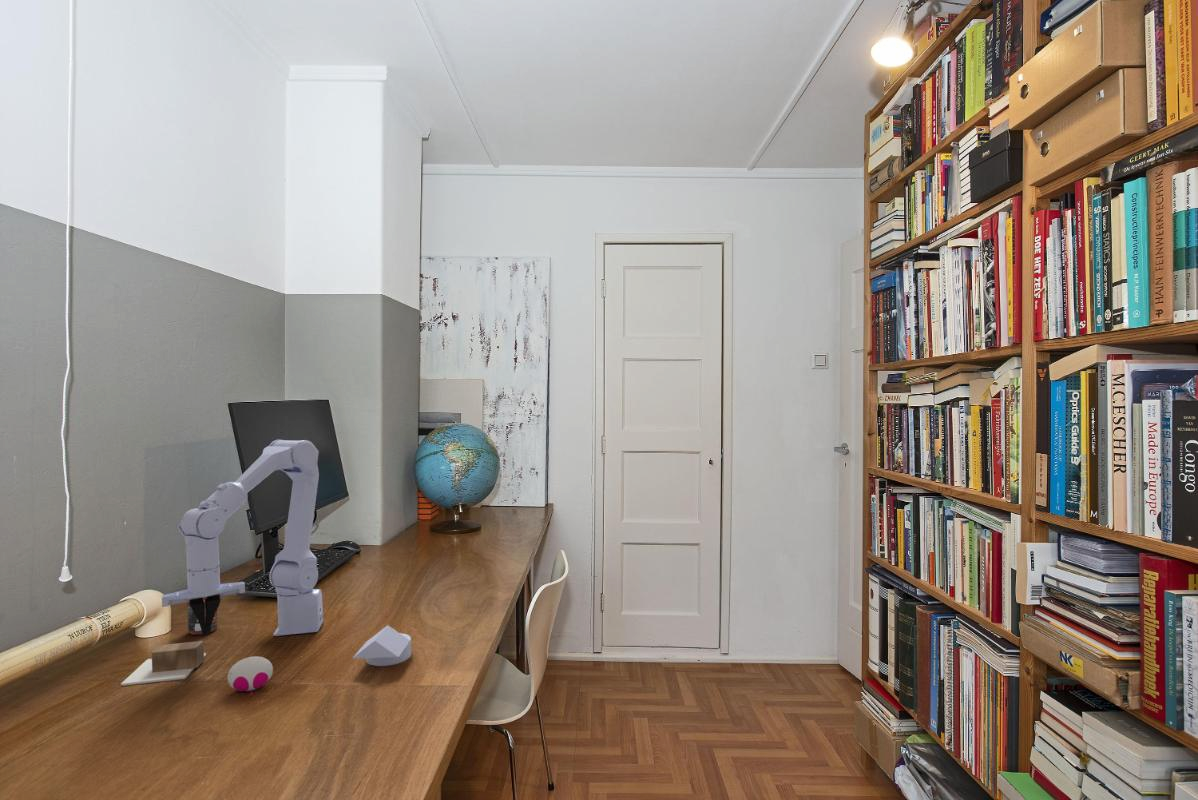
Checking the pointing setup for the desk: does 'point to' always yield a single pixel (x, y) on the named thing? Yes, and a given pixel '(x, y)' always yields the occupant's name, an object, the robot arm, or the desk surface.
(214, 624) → the supplement bottle
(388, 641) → the wedge on round base
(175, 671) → the felt mat
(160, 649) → the walnut block
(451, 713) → the desk surface
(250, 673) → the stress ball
